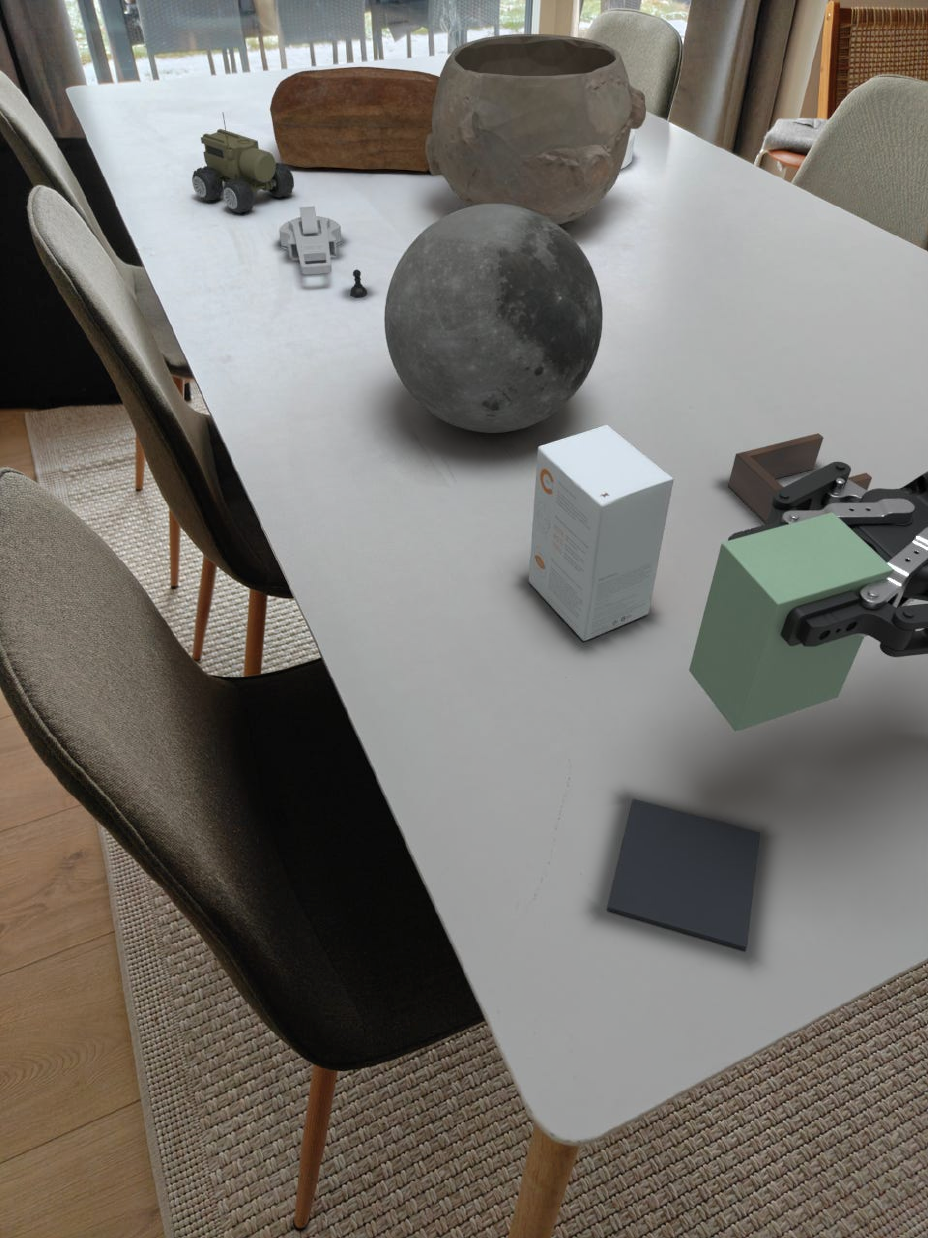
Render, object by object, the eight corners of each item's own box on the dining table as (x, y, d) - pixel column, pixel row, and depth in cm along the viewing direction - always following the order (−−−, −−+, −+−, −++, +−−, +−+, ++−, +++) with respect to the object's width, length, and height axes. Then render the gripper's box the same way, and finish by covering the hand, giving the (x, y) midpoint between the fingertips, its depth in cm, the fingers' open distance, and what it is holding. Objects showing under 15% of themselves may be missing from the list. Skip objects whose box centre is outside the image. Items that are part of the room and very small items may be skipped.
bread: (456, 179, 139) (455, 88, 131) (270, 173, 141) (258, 83, 132) (463, 148, 149) (463, 61, 141) (289, 143, 151) (279, 57, 142)
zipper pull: (286, 294, 112) (281, 258, 109) (280, 234, 125) (275, 201, 122) (351, 289, 113) (348, 253, 110) (339, 230, 126) (336, 197, 123)
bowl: (390, 238, 124) (381, 68, 110) (478, 169, 142) (480, 16, 128) (583, 276, 116) (600, 98, 102) (650, 197, 134) (673, 37, 120)
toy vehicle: (248, 178, 139) (234, 89, 131) (299, 196, 134) (289, 105, 126) (192, 199, 133) (174, 107, 125) (243, 219, 128) (228, 124, 120)
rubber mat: (758, 835, 59) (759, 831, 58) (745, 950, 53) (746, 947, 53) (632, 802, 60) (633, 798, 60) (607, 910, 55) (607, 907, 55)
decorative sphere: (581, 365, 100) (601, 170, 86) (601, 475, 86) (629, 262, 72) (395, 365, 100) (385, 169, 86) (384, 474, 86) (369, 261, 72)
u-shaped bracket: (808, 464, 87) (818, 432, 85) (860, 509, 82) (872, 477, 80) (727, 485, 85) (735, 453, 82) (776, 533, 80) (786, 500, 78)
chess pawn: (346, 295, 112) (344, 270, 110) (355, 288, 113) (353, 264, 111) (361, 298, 111) (359, 274, 109) (369, 291, 113) (368, 267, 111)
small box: (650, 615, 73) (677, 478, 64) (583, 644, 70) (601, 506, 61) (590, 556, 78) (607, 421, 69) (525, 581, 75) (535, 445, 66)
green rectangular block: (787, 639, 57) (832, 511, 50) (838, 697, 54) (895, 569, 47) (688, 670, 55) (721, 541, 48) (735, 732, 52) (777, 604, 45)
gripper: (1081, 648, 51) (821, 740, 46) (902, 497, 60) (672, 561, 56) (1153, 542, 45) (867, 634, 41) (945, 395, 55) (694, 456, 50)
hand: (756, 592), depth 48 cm, fingers closed on green rectangular block, 5 cm apart
